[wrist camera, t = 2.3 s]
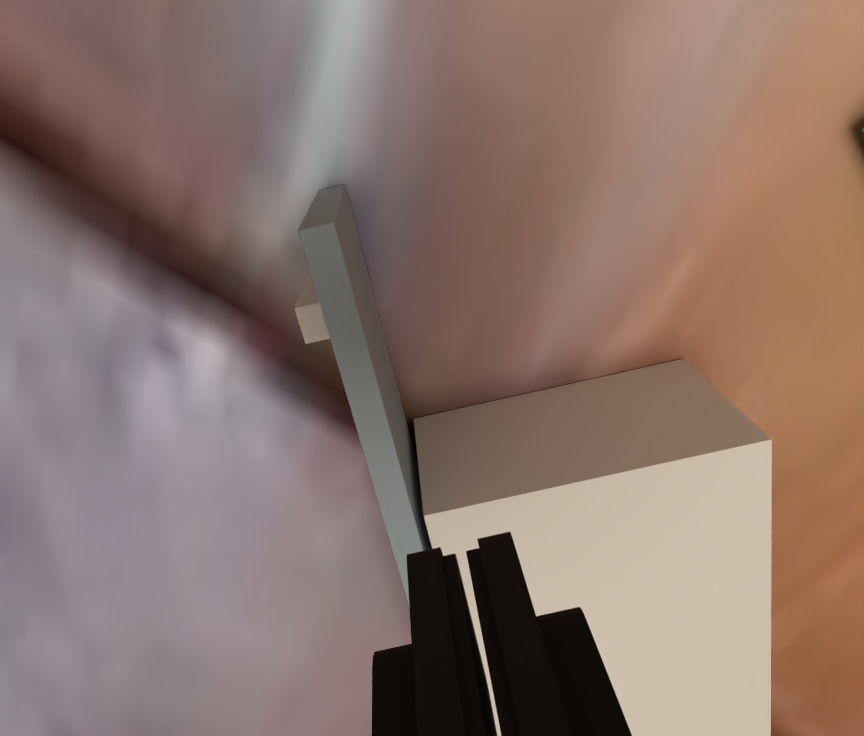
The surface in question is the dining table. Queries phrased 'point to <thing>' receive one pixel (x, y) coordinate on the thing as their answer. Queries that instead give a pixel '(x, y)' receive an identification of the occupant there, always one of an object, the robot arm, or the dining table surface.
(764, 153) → the dining table surface
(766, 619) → the block
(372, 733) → the robot arm
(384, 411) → the side door
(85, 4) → the dining table surface
